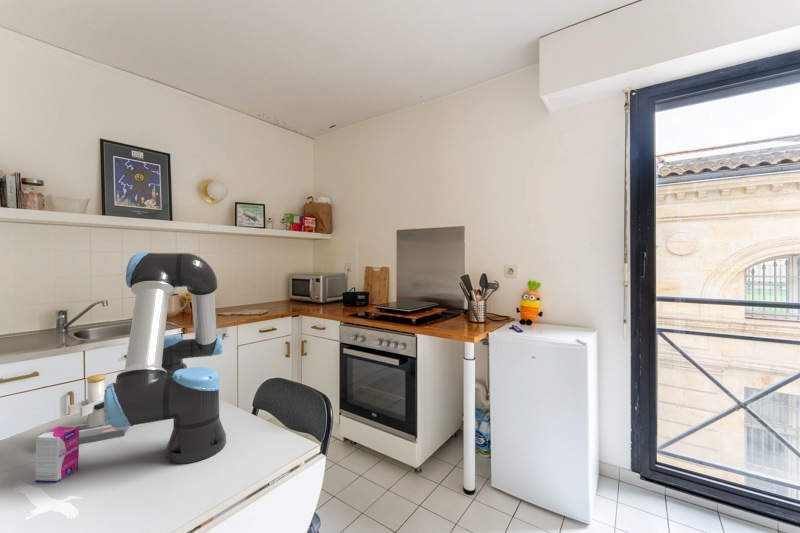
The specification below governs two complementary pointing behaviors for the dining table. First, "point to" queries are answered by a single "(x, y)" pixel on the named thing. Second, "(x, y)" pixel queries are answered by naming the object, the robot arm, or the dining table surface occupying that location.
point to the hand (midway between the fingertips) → (75, 411)
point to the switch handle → (95, 394)
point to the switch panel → (98, 432)
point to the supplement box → (57, 454)
